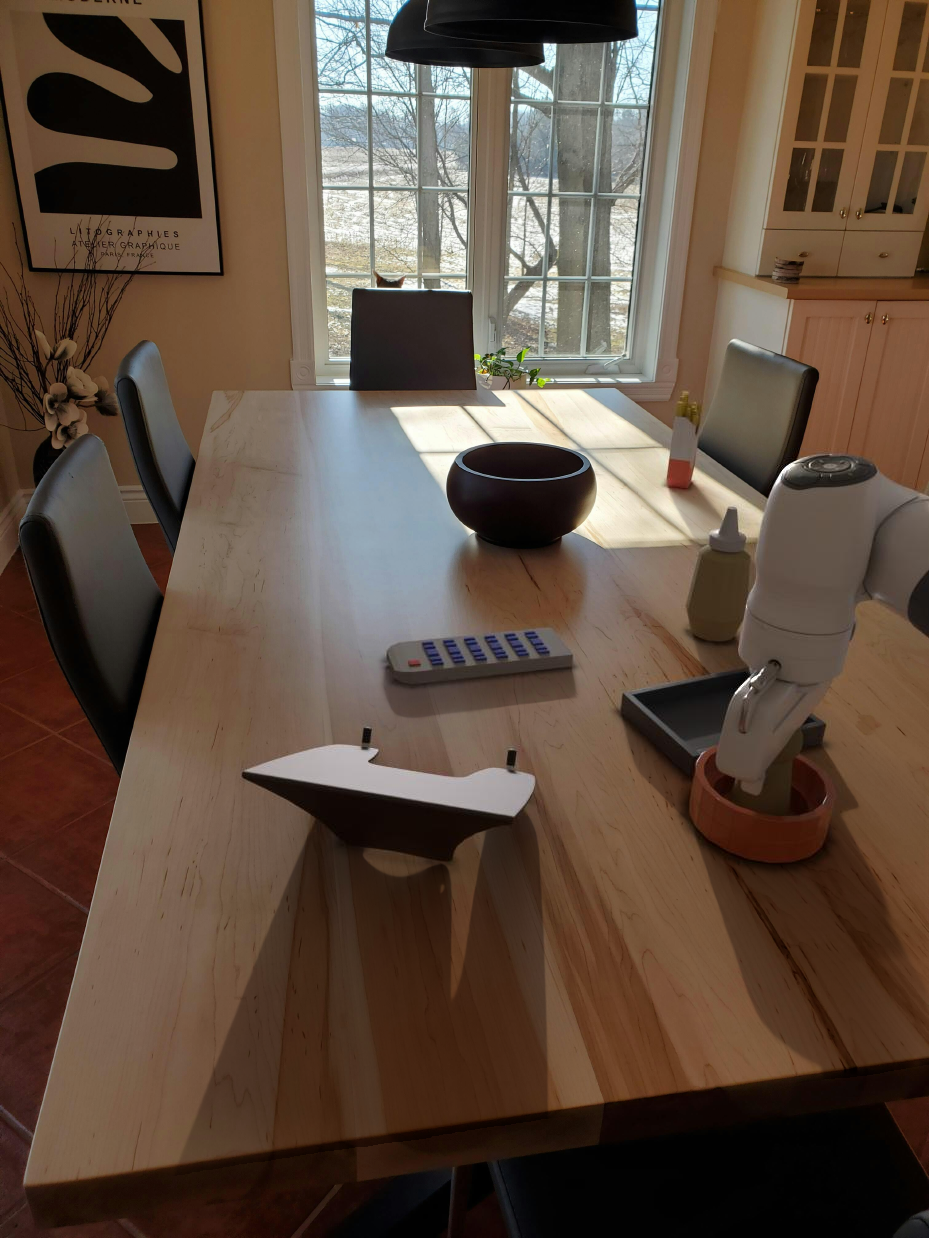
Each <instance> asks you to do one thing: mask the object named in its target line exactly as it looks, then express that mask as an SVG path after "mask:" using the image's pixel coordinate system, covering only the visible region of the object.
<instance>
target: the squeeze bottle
mask: <svg viewBox="0 0 929 1238" xmlns="http://www.w3.org/2000/svg"><path fill="white" fill-rule="evenodd" d="M738 514H739V513H738V508H737V507H736V506H728V507H727V509H726V511H725V514H724V516H723V519H722V521H721V524H720V526H719V528H717V529H713V530H711V531H710V532H709V536H708V540H707V541H708V542H707V544H706V545H703V547H701V548H700V550H699V553H698V557H697V560H696V564H695V567H694V572H693V575H692V579H691V583H690V587H689V591H688V595H687V599H686V602H685V610H686V614H687V615H686V616H687V620H688V624H689V629H690V632H691V633H692V634H693V635H694V636H696V637H697V638H700V639H702V640H705V641H710V642H726V641H730V640H732V639H733V638H734V637H735V635H736V634H737V632H738V631H739V628H740V627H741V625H742V624H743V620H744V614H745V609H746V603H747V599H748V596H749V589H750V587H749V586H750V572H751V571H750V569H751V555H750V553H749V552H748V551H747V550H746V549H745V548H746V542H747V536H746V535H745V533H743V532H741V531H740V530H739V517H738V516H739V515H738Z"/></svg>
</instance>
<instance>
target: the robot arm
mask: <svg viewBox="0 0 929 1238" xmlns="http://www.w3.org/2000/svg"><path fill="white" fill-rule="evenodd" d="M754 565H755V573H756V574H755V581H754V584H753V587H752V588H751V591H750V592H749V593H748V599H747V603H746V609H745V614H744V620H743V622H742V624H741V625H742V626H741V630H740V631H741V632H740V637H739V643H738V648H737V652H738V655H739V657H740V659H741V660H742V661H743V663H744V664H746V665H747V666H748V667H749V669H750V673H751V676H750V677H749V678H748V679H747V680H746V681H745V682H744V683H743V684H742V685H741V686H740V687H739V688H738V690H737V691H736V692H735V694H734V695H733V697H732V699H731V702H730V704H729V707H728V710H727V714H726V717H725V721H724V725H723V729H722V733H721V737H720V742H719V746H718V750H717V755H716V765H717V768H718V770H719V771H720V772H722V773H724V774H726V775H729V776H731V777H734V778H736V779H739V780H741V781H742V782H741V789H742V790H743V791H745V792H748V793H750V794H753V795H759V794H760V792H761V791H762V790H763V789H764V787H765V785H766V780H767V776H768V774H767V773H765V772H766V769H767V768H768V767H769V766H770V764H771V763H772V762H773V760H774V759H775V758H776V757H777V755H778V754H779V753H780V752H781V750H782V749H783V748H784V747H785V745H786V744H787V743H788V741H789V740H790V738H791V737H792V735H793V734H794V732H795V731H796V730H797V729H798V728H799V727H800V726H801V725H802V724H803V723H804V721H805V720H806V719H807V718H808V716H809V715H810V714H811V713H812V714H813V711H814V710H815V709H816V708H817V707H818V706H819V704H820V703H821V701H822V700H823V699H824V698H825V697H826V695H827V694H828V693H829V690H830V688H831V686H832V683H833V681H834V679H837V677H839V676H840V675H841V674H842V672H843V670H844V666H845V662H846V658H847V654H848V650H849V647H850V643H851V641H852V640H853V638H854V636H855V632H856V629H857V625H858V619H857V617H856V608H857V606H858V605H859V604H860V603H862V602H869V601H874V602H875V603H877V604H879V605H880V606H882V607H883V608H886V609H887V610H888V611H890V612H892V613H894V614H895V615H897V616H899V617H900V618H902V619H904V620H905V621H907V622H908V623H910V624H911V625H912V626H913V628H915V629H916V630H918V631H919V632H920V633H922V634H923V635H924V636H925V637H927V638H928V639H929V495H927V494H925V493H922V492H920V491H917V490H914V489H912V488H909V487H905V486H903V485H901V484H899V483H897V482H895V481H894V480H891V479H890V478H888V477H886V476H885V475H884V474H883V473H882V472H881V471H880V470H879V468H878V466H877V465H876V464H875V463H873V462H872V461H871V460H869V459H866V458H864V457H860V456H858V455H857V456H856V455H853V454H847V453H846V454H845V453H840V454H839V453H820V454H819V453H818V454H812V455H808V456H805V457H801V458H799V459H797V460H795V461H792V462H790V463H789V464H788V465H786V466H785V467H784V468H783V469H782V471H781V472H780V473H779V475H778V477H777V478H776V480H775V482H774V484H773V486H772V489H771V491H770V492H769V495H768V498H767V501H766V505H765V508H764V512H763V515H762V518H761V524H760V528H759V533H758V537H757V542H756V549H755V555H754Z"/></svg>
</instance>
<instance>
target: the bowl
mask: <svg viewBox="0 0 929 1238" xmlns="http://www.w3.org/2000/svg"><path fill="white" fill-rule="evenodd" d="M718 746H719V745H715V746H713V747H711V748H709V749H708V750H706V751H704V752H703V753H702V754H701V756H700V757H699V759H698V760H697V762H696V766H695V772H694V776H693V779H692V784H691V791H690V796H689V805H688V806H689V810H688V811H689V816H690V818H691V820H692V822H693V824H694V826H695V828H696V829H697V830H698V831H699V832H700V833H701V834H702V835H703V837H705V838H706V839H707V840H708V841H710V842H711V843H713V844H715V845H716V846H718V847H720V848H721V849H723V850H724V851H726V852H728V853H730V854H733V855H736V856H738V857H741V858H744V859H747V860H750V861H756V862H763V863H768V864H780V863H782V864H783V863H795V862H798V861H801V860H804V859H807V858H810V857H812V856H813V855H815V854H816V853H817V852H818V851H819V850H820V849H822V848H823V845H824V842H825V840H826V837H827V834H828V829H829V826H830V820H831V817H832V815H833V809H834V806H835V802H836V798H837V794H836V789H835V786H834V785H835V784H834V783H833V781H832V780H831V778H830V776H829V775H828V774H827V772H826V771H825V770H824V769H823V768H822V767H820V766H819V765H817V764H816V763H815V762H813V761H812V760H811V759H809V758H807V757H806V756H804V755H802V754H800V753H799V754H798V755H797V757H796V758H795V759H793V760H792V776H791V793H790V809H789V816H774V815H768V814H762V813H757V812H754V811H751V810H748V809H745V808H742V807H739V806H737V805H735V804H734V803H732V802H730V801H728V798H729V796H730V793H731V790H732V787H733V785H734V782H735V779H736V778H734V777H731V776H729V775H726V774H724V773H722V772H720V771H719V770H718V768H717V765H716V755H717V750H718Z"/></svg>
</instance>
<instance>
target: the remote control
mask: <svg viewBox="0 0 929 1238" xmlns="http://www.w3.org/2000/svg"><path fill="white" fill-rule="evenodd" d="M573 657H574V654H573V652H572V651H571V649H569V647H568V646H567V645H566V644H565V642H564V641H563V640H562V638H561V637H560V636H559V635H558V634H557V632H556V631H555V630H554V628H553V627H552V626H547V627H539V628H538V627H537V628H528V629H518V630H509V631H508V630H507V631H497V632H489V633H488V632H487V633H480V634H470V635H469V634H468V635H458V636H448V637H439V638H429V639H428V638H427V639H419V640H409V641H399V642H397V643H395V644H391V645H390V646H389V647H388V648H387V650H386V660H387V663H388V665H389V668H390V671H391V672H392V675H393V677H394V680H397V681H398V682H400V683H402V684H408V685H419V684H427V683H437V682H446V681H454V680H463V679H472V678H481V677H489V676H490V677H491V676H500V675H507V674H517V673H526V672H534V671H535V672H536V671H542V670H551V669H559V668H560V669H561V668H569V667H573V659H574V658H573Z"/></svg>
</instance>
